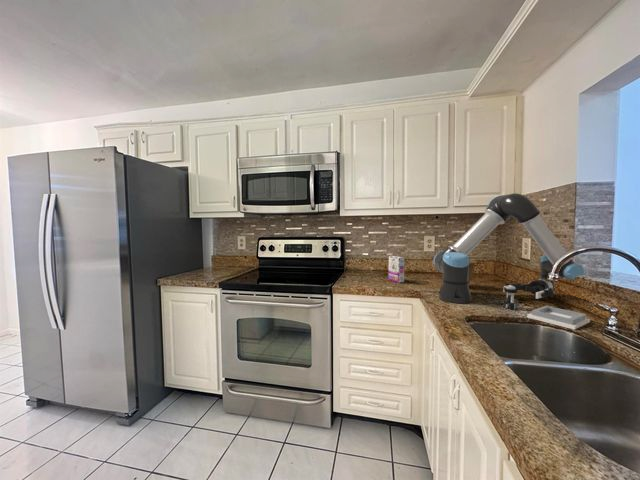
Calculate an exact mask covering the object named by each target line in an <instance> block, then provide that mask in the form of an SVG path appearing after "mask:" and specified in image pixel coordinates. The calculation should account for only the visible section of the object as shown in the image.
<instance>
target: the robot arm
mask: <svg viewBox="0 0 640 480" xmlns="http://www.w3.org/2000/svg"><path fill="white" fill-rule="evenodd" d="M540 215H541V211H540V210H539V209H538V207H537V206H536V205H535V203H534V202H532V201H531V199H529V198H528V197H527V196H525V195H524V194H521V193H509V194H500V195H498V196H495V197H493V198H492V199H491V200H490V201H489V203H488V205H487V207H486V208H485V209H484V214H483V215H482V216H481V217H480V218H479V219H478V220H477V221H476V222H475V223H474V224H473V225H472V226H471V227H470V228H469V229H468V230H467V231H466V232H465V233H464V234H463V235H462V236H461V237H460V238H459V239H458V240H457V241H455V242H454V243H453V245H447V247H446V248H445V249H444V250H443V251H439V252H437V253H436V254H435V255H434V258H433V265H434V268H435V269H436V270H437V271H438V272H439V273H440V274H442V282H441V286H440V288H439V292H438V296H437V298H438V299H439V300H441V301H444V302H448V303H453V304H468V303H471V302H472V295H471V291H470V288H469V284H468V272H469V260H470V259H469V256H468V255H469V254H470V252H472V251H473V250H474V249H475V248H476V247H477V246H478V245H479V244H480V243H481V242H482V241H483V240H484V239H485V238H486V237H487V236H488V235H489V234H490V233H491V232H493V230H494V229H496V228H497V227H498V226H499V225H504V224H505V223H506V222H507V221H508V220H510V218H514V219H515V220H516V221H517V223H518V224H520V225H521V224H522V225H523V227H524V229H525V230H526V231H527V232H528V234H529V235H530V237H532V239H533V240H534V242H535V244H536V245H538V247H539V248H540V250H541V251H542V253H543V255H542V256H541V257H540V275H539V278H538V279H535V280H532V281H530V282H529V283H528V284H526V283H522V282H520V283H504V286H503V293H505V292H504V287H506V286H515V287H516V289H518V291H523V292H529V293H531V294H533V295H535V299H537V300H538V299H541V298H548V297H549V298H550V299H551V298H552V299H553V298H554V294H555V293H554V292H555V291H554V292H553V290H554V287H555V286H554V282H553V281H549V280H547V276H548V273H549V272H550V270H551V268H552V266H553V264H554V263H555V262H556V260H557V259H558V258H559V257H560V256H561V255H563V254H564V253H567V251H566V250H565V249H564V247H563V246H562V245H561V243H560V242H559V241H558V239H557V237H556V236H555V235H554V233H553V231H551V230H550V227H548V225H547V224H546V222H544V220H543V218H542V217H541V216H540ZM579 275H583V276H584V275H585V269H584V267H583V266H582V265H580V264H578V263H577V262H576V263H575V262H574V260H573V259H572V258H571V259H570V260H568V261H567V262H566V263H565V264H564V265H563V266H562V267H561V269H560V271H559V277H561V278H565V279H568V280H574V279H575V277H576V276H579Z"/></svg>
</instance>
